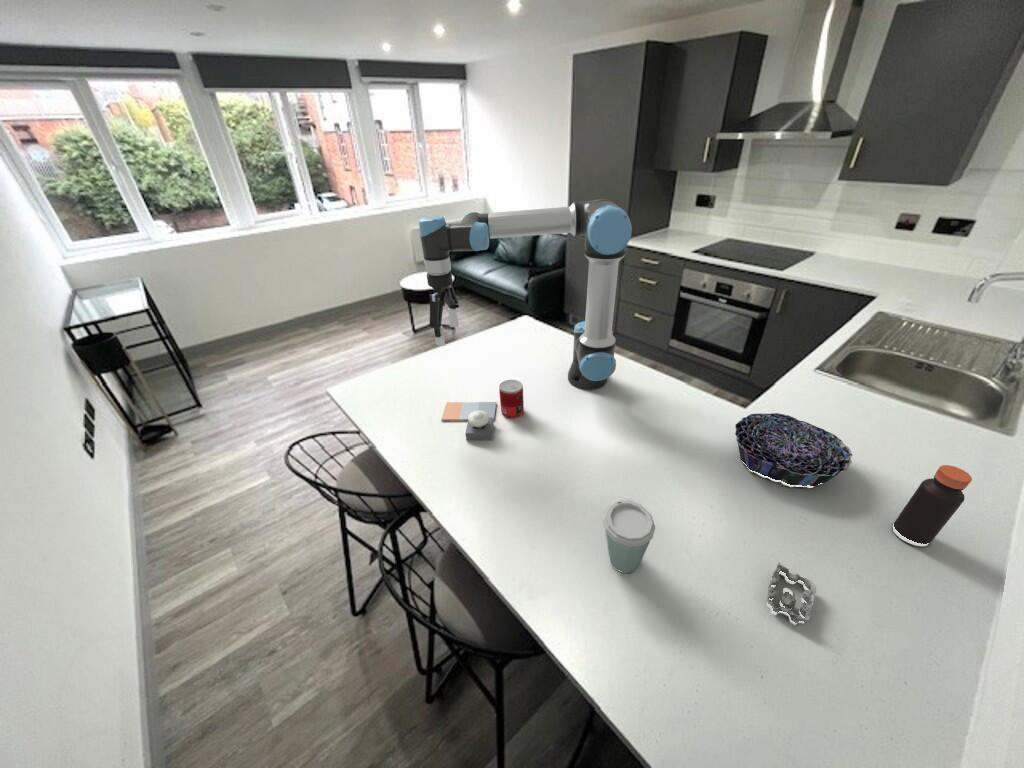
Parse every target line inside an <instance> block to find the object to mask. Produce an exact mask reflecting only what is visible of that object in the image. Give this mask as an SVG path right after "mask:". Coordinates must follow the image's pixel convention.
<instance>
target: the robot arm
mask: <svg viewBox="0 0 1024 768" xmlns="http://www.w3.org/2000/svg"><path fill="white" fill-rule="evenodd" d="M418 226H419V237H420V242H421V248H422V252H423V253H422V255H423V264H424V265H425V266H424V267H425V272H426V280H427V285H428V287H430V288H432V289H433V294H432V293H431V294H430V293H429V328H430V329H433V333H434V339H435V345H436V346H438V347H439V346H440V347H445V346H446V342H445V336H444V327H443V325H442V318H443V311H444V307H445V306H446V305H447V306H448V309H447V313H448V321H449V327H450V328H459V321H458V319H459V318H458V312H457V310H458V309H459V307H460V305H459V300H458V297H457V294H456V292H455V289H454V286H453V281H454V280H453V274H452V265H451V257H450V252H473V251H474V252H479V251H486V250H488V248H489V246H490V239H504V238H515V237H529V236H530V237H531V236H544V235H546V236H547V235H557V234H571V235H572V236H573V237H577V236H578V237H579V236H581V237H582V236H583V237H584V252H583V254H584V256H585V257H586V259H587V260H588V270H587V271H588V274H587V286H586V287H587V290H586V291H587V292H586V304H585V305H586V306H585V317H584V318H585V320H584V321H579V322H577V323H576V324H575V325H574V329H573V352H572V354H573V355H572V362H571V364H570V366H569V370H568V372H567V381H568V382H569V384H571V386H574V387H576V388H578V389H582V390H595V389H599V388H602V387H604V386H606V385H607V383H608V379H609V377H611V376H612V375H613V374H614V373H615V370H616V369H617V360H616V358H615V349H616V341H617V340H616V337H615V336H614V335H613V334H612V331H613V321H614V313H615V312H614V311H615V304H616V303H615V302H616V293H617V286H618V285H617V283H618V273H619V264H620V261H621V260H622V259H623V258H624V257H625V256H626V250H627V245H628V244H629V242H630V240H631V237H632V229H633V228H632V222H631V220H630V216H629V215H628V213H627V212H626V211H625V210H624V209H623V208H622V207H620V206H619V205H618V204H616V203H615V202H614V201H613V200H610V199H605V198H604V199H603V198H601V199H593V200H586V201H584V200H583V201H578V202H577V201H575V202H572V203H571V205H570V206H559V207H548V208H546V207H545V208H535V209H534V208H533V209H523V210H521V209H520V210H510V211H498V212H497V211H496V212H488V213H487V212H485V213H484V212H483V213H479V212H476V211H472V212H469V213H468V214H465V215H464V217H462V220H461V222H460V223H447V222H446V219H445V217H444V216H441V215H429V216H424V217H421V219H420V220H419V221H418Z"/></svg>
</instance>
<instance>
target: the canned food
mask: <svg viewBox="0 0 1024 768" xmlns="http://www.w3.org/2000/svg"><path fill="white" fill-rule="evenodd" d="M498 388H499V391H498V393H499V401H500V403H499V404H500V412H501V414H502V415H503V416H504V417H505V418H508V419H516V418H519V417H521V416H522V415H523V414H524V409H525V407H524V386H523V383H522V382H521V381H520V380H516V379H506V380H504V381H502V382H500V383H499V387H498Z"/></svg>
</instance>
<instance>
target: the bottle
mask: <svg viewBox="0 0 1024 768" xmlns="http://www.w3.org/2000/svg"><path fill="white" fill-rule="evenodd" d="M972 481H973V477H972V476H971V475H970V474H969V472H968V471H965V470H964V469H961V468H960V467H957V466H953V465H949V464H943V465H941V466H939V467H938V468H937V470H936V472H935V474H934V476H933V478H931V477H930V478H927V479H924V480H922V481H921V483H920V484H919V485H918V487H917V488H916V490H915V491H914V493H913V495H912V496H911V497H910V498H909V500H908V502H907V503H906V504H905V506H904V507H903V509H902V510H901V512H900V514H898V516H897V518H896V519H895V521H894V522H893V523H894V527H895V529H896V530H897V531H898V532H899V533H900V534H901V535H902V536H904V537H906V538H907V539H909V540H912V541H914V542H917V543H921V544H922V543H923V544H927V543H930V542H931V543H932V542H933V541H934V539H936V537H937V535H938V534H939V533H940V532H941V530H942V529H944V526H946V524H947V523H948V522H949V521H950V519H951V518H952V516H953V515H955V513H956V512H957V510H958V509H959V508H960V506H962V504H963V503H964V501H965V494H964V492H963V491H964V490H965V489H966V488H967V487H968V486H969V485H970V483H971V482H972ZM931 543H930V544H931Z"/></svg>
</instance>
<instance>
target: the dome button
mask: <svg viewBox="0 0 1024 768" xmlns="http://www.w3.org/2000/svg"><path fill="white" fill-rule="evenodd" d="M468 418H469V424H470V425H472V426H474V427H477V428H478V429H481V428H482V427H483V426H484V425H486V424H487V423H488V422H489V416H488V413H487V412H485V411H482V410H477V411H473V412H472V413H470V414H469V416H468Z"/></svg>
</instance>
